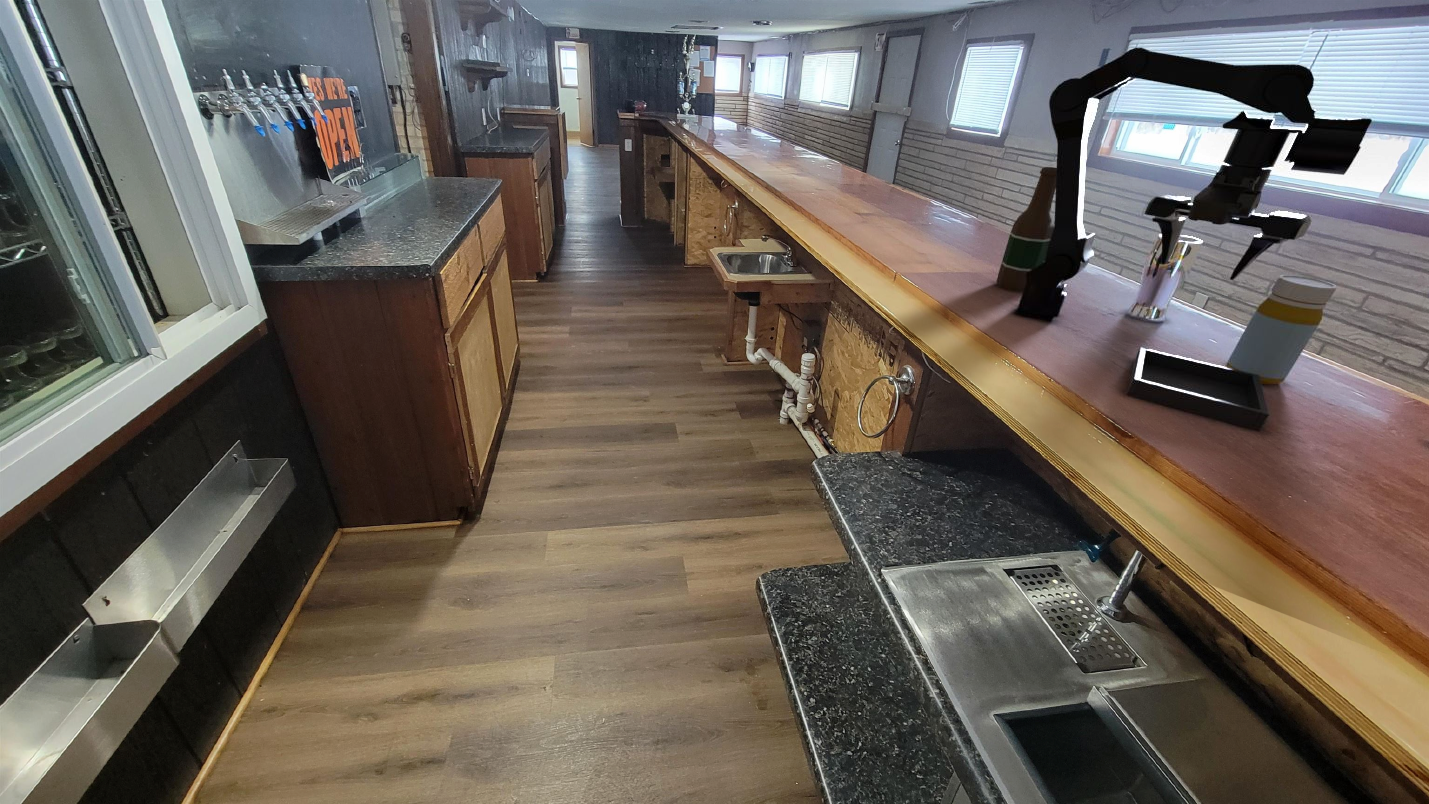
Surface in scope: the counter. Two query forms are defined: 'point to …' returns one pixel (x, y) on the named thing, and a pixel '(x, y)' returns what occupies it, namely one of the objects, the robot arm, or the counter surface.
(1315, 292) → the bottle
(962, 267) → the counter surface
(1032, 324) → the counter surface
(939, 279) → the counter surface
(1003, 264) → the beer bottle
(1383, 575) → the counter surface
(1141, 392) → the tray
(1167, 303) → the beer glass
